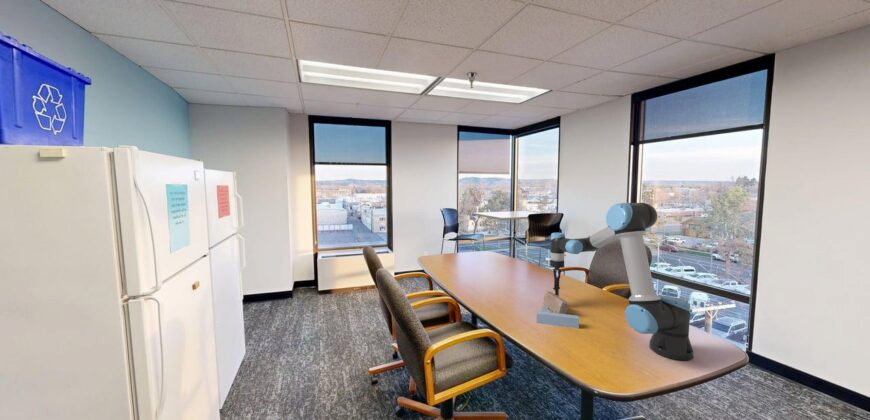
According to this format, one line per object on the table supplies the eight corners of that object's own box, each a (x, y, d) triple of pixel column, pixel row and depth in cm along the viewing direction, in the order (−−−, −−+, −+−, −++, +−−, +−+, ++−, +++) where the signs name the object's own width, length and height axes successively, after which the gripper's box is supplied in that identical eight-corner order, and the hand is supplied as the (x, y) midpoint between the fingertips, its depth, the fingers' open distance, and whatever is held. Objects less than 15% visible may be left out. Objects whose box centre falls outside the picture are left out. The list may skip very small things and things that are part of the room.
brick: (569, 302, 173) (561, 301, 172) (565, 317, 174) (558, 316, 173) (551, 291, 189) (544, 290, 188) (548, 305, 190) (541, 304, 189)
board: (578, 328, 160) (579, 318, 160) (536, 323, 167) (536, 313, 166) (576, 319, 172) (577, 310, 171) (537, 314, 178) (537, 305, 178)
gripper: (564, 262, 178) (563, 304, 180) (563, 257, 190) (562, 297, 192) (550, 261, 181) (549, 303, 182) (550, 257, 193) (549, 295, 194)
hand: (556, 300), depth 187 cm, fingers closed
